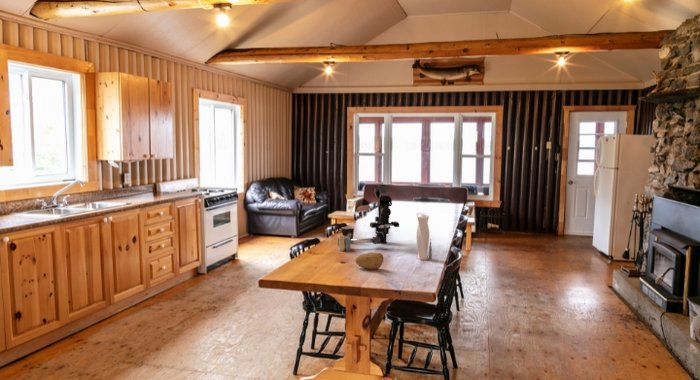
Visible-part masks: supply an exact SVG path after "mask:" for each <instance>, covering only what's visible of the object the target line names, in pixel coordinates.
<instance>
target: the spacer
mask: <svg viewBox="0 0 700 380" xmlns="http://www.w3.org/2000/svg"><path fill="white" fill-rule="evenodd" d="M336 239H337V240H336V246H337V247H336V249H337V250H338V252H344V251H345V249H344V236H343V235H342V233H338V234H337V233H336Z"/></svg>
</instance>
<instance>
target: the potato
mask: <svg viewBox="0 0 700 380" xmlns="http://www.w3.org/2000/svg"><path fill="white" fill-rule="evenodd" d="M354 262H355V264H357V265H358V267H360V268H364V269H366V270H370V271H371V270H378V269H380V268H381V267H382V265H383V263H384V255H383V254H382V253H381V252H371V251H370V252H366V253H362V254H359V255H357V257H355V260H354Z"/></svg>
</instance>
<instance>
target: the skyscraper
mask: <svg viewBox="0 0 700 380" xmlns="http://www.w3.org/2000/svg"><path fill="white" fill-rule="evenodd" d="M419 215H420V216H419ZM416 218H417V222H418V224H417V229H416V246H417V252H418V253H417V255H416V259H417V260H419V261H421V262H425V261H426V262H427V261H433V259H432V258H433V257H432V256H433V254H432V252H433V251H432V247H433V246H432V239H430V229H429V228H430V227H429V224H428V222H429V218H430V215H427V214H424V213H420V212H417V213H416ZM428 249H429V250H428ZM427 253H428V254H427Z"/></svg>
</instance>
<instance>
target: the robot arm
mask: <svg viewBox="0 0 700 380" xmlns="http://www.w3.org/2000/svg"><path fill="white" fill-rule="evenodd" d="M374 195H375V198H376V200H377V208H378V209H377V210H378V211H377V212H378V216H375V217H374V221H375V222H373V221H372V222H370V223H369V227H370V228H372V229H375V231H374V234H375V237H380V244H387V243H388V242H387V235H388V234H389V231H390V229H392V227H394V228H399V227H400V223H399V222H398V221H397V220H396V221H390V215H392V211H391V208H390V207H392V205H393V201H392V198H391V196H390V194H389V193H388V187H387V186H386V184H378V185H377V186H375V187H374Z"/></svg>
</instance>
